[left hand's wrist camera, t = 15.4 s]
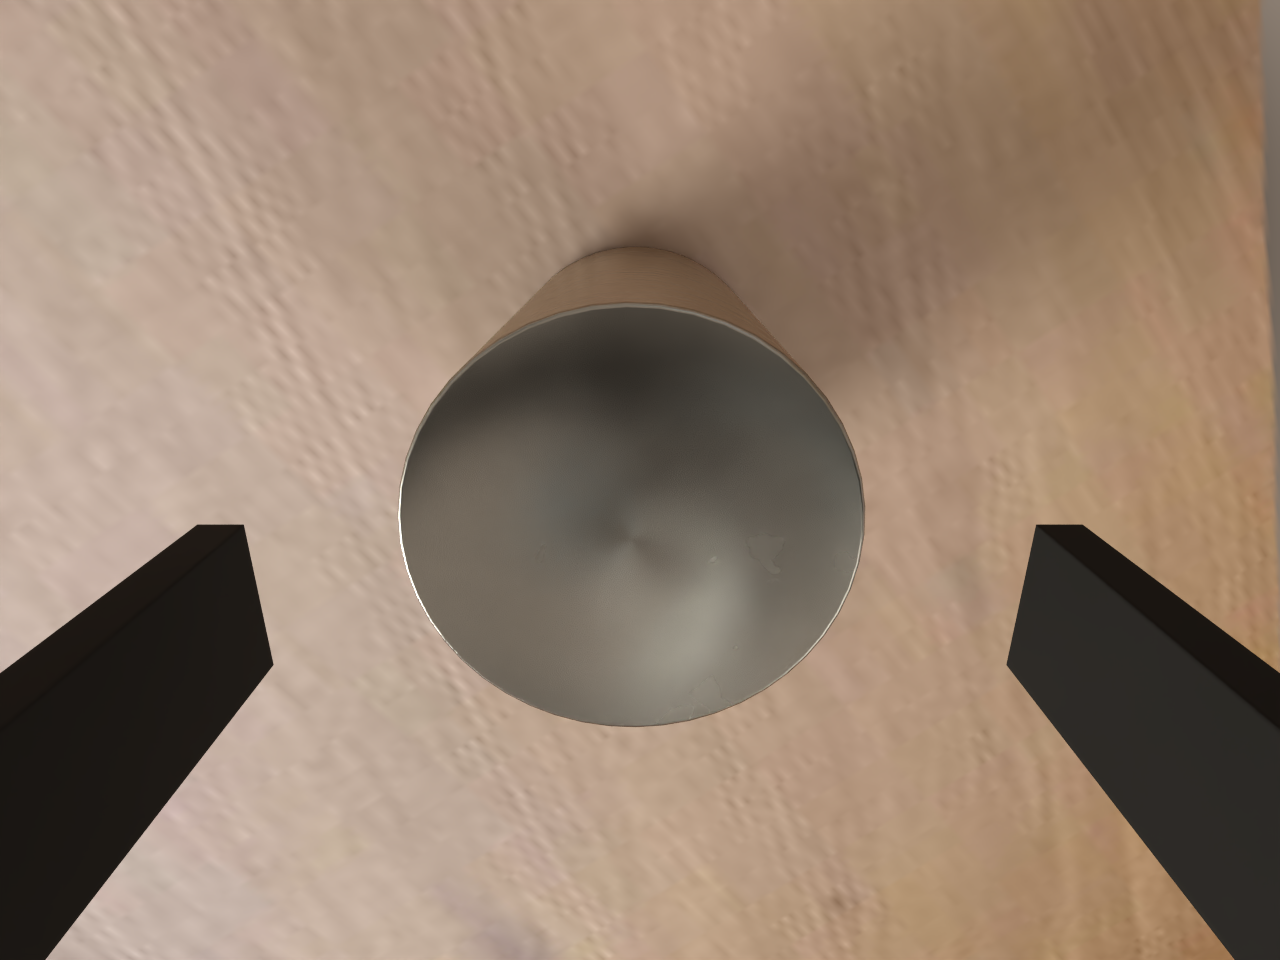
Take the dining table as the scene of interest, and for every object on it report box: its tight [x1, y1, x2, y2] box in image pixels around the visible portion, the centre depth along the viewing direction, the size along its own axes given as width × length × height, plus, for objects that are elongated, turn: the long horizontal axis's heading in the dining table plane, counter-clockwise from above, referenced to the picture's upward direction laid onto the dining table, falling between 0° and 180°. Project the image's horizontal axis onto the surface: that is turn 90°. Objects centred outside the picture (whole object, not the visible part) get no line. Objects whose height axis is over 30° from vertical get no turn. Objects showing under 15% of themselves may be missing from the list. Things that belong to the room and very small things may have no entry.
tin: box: [398, 247, 865, 727], centre depth 20 cm, size 9×9×13 cm
